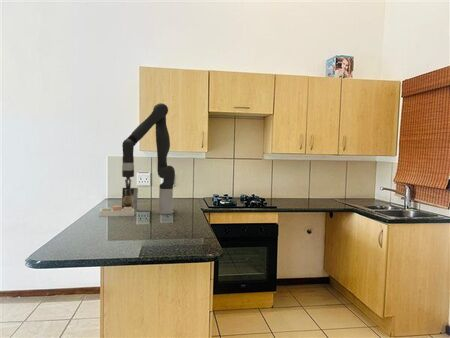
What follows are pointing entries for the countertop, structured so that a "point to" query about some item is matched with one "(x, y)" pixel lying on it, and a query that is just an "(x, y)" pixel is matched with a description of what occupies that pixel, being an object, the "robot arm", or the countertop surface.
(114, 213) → the cream flat tray
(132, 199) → the coffee box
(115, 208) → the terracotta key
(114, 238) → the countertop surface
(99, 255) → the countertop surface
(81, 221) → the countertop surface
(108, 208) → the sage key
